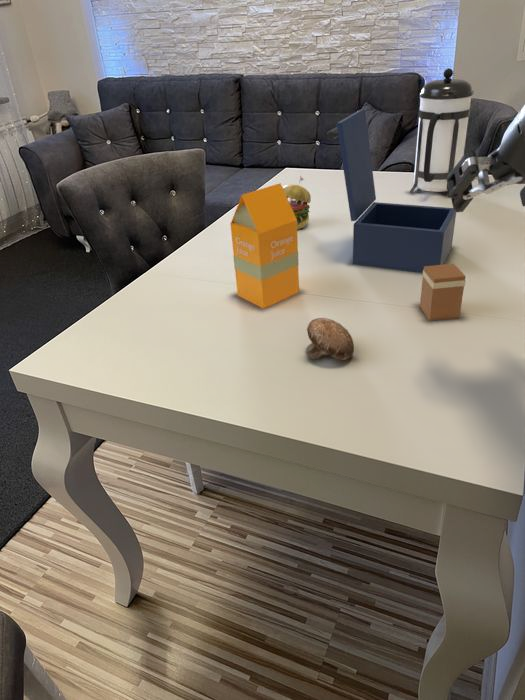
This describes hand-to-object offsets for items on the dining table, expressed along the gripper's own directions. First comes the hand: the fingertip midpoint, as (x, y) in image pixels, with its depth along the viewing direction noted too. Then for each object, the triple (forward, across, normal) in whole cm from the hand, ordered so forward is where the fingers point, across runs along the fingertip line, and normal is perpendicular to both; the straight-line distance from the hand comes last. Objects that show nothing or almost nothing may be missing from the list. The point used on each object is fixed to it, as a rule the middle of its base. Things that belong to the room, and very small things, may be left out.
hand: (490, 202), depth 68 cm
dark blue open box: (+41, -1, -9) cm, 42 cm away
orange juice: (+33, +28, -1) cm, 43 cm away
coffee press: (+70, -22, -38) cm, 83 cm away
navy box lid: (+32, +7, -26) cm, 41 cm away
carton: (+24, 0, +8) cm, 25 cm away
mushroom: (+18, +20, +14) cm, 30 cm away
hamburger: (+58, +18, -26) cm, 66 cm away
